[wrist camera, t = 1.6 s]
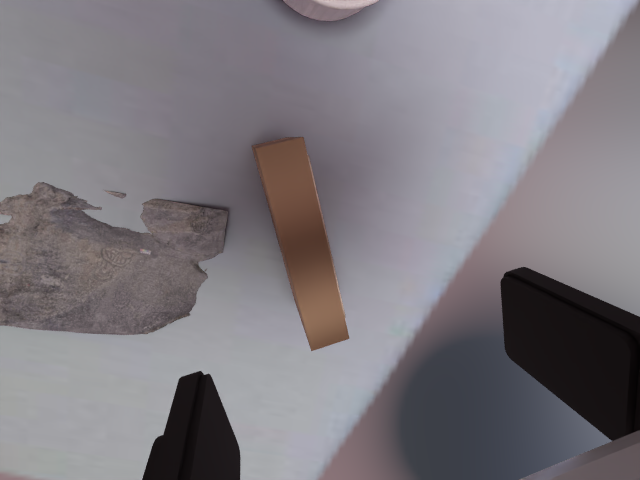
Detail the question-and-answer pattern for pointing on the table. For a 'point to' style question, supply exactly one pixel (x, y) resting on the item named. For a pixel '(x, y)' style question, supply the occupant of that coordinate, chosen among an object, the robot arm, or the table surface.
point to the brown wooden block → (302, 238)
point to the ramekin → (328, 8)
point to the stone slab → (101, 264)
